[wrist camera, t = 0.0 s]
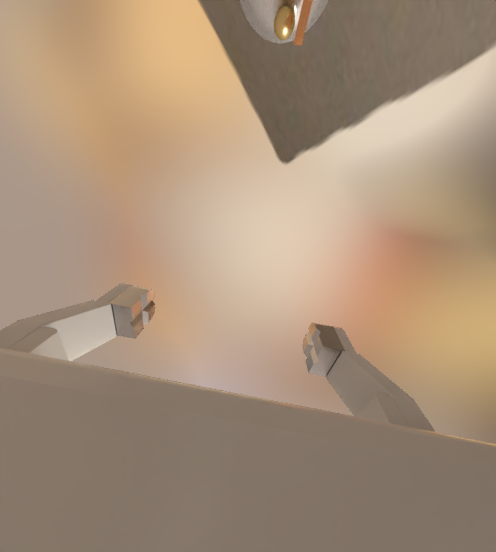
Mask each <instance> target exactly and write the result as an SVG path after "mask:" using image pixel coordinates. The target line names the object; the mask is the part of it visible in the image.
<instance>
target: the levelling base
mask: <svg viewBox="0 0 496 552" xmlns="http://www.w3.org/2000/svg"><path fill="white" fill-rule="evenodd" d="M239 1H240V4H241V7H242V9H243V12H244V14H245V16H246V18H247V20H248V21H249V23H250V25H251V26H252V27H253V29H254V30H255V31H256V32H257V33H258V34H259V35H260V36H261V37H263V38H264V39H266V40H268V41H271V42H274V43H286V42H290V41H292V40H294V38H295V34H296V29H297V25H298V20H299V16H300V12H301V7H302V3H303V0H239ZM328 1H329V0H313V2H312V6H311V10H310V14H309V18H308V22H307V26H306V30H305V32H306V31H307V30H308V29H309V28H310V27H311V26H312V25H313V24H314V23H315V22H316V20H317V19H318V18H319V16H320V15H321V13H322V12H323V10H324V8H325V7H326V5H327V3H328Z"/></svg>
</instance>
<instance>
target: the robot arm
mask: <svg viewBox="0 0 496 552" xmlns="http://www.w3.org/2000/svg"><path fill="white" fill-rule="evenodd" d="M154 297H155V295H154V291H153V290H151V289H147V288H143V287H138V286H133V285H129V284H124V283H122V284H119V285H118V286H116V287H115V288H113V289H112V290H110V291H109V292H108V293H106V294H105V295H103V296H102V297H101V298H99V299H98V300H96V301H94V300H91V301H88V302H84V303H80V304H77V305H73V306H69V307H66V308H62V309H58V310H55V311H51V312H47V313H43V314H40V315H36V316H33V317H29V318H25V319H21V320H18V321H16V322H15V323H13V324H11V325H9V326H8V327H6V328H4V329H2V330H1V331H0V552H496V444H493V443H488V442H483V441H477V440H472V439H467V438H462V437H457V436H452V435H447V434H441V433H437V432H435V430H434V429H433V428H432V426H431V424H430V423H429V421H428V420H427V418H426V417H425V416H424V414H423V413H422V411H421V410H420V408H419V407H418V405H417V404H416V402H415V401H414V400H413V398H411V397H410V396H409V395H408V394H407V393H405V392H404V391H403V390H402V389H400V388H399V387H398V386H397V385H396V384H395V383H393V382H392V381H391V380H390V379H389V378H387V377H386V376H385V375H384V374H382V373H381V372H380V371H379V370H378V369H377V368H376V367H374V366H373V365H372V364H371V363H369V362H368V361H367V360H366V359H365V358H364V357H362V356H361V355H360V354H357V353H356V352H355V350H354V348H353V346H352V344H351V342H350V341H349V339H348V337H347V335H346V333H345V331H344V330H343V329H342V328H339V327H333V326H326V325H321V324H316V323H312V324H311V325H310V327H309V331H310V333H308V334H306V335H305V338H304V341H303V351H304V354H305V355H306V356H307V359H306V364H307V368H308V372H309V373H310V374H315V375H319V376H323V377H326V379H327V380H328V381H329V383H330V384H331V385H332V387H333V388H334V390H335V391H336V392H337V394H338V395H339V396H340V398H341V399H342V400H343V401H344V403H345V404H346V406H347V407H348V408H349V409H350V411H351V412H352V414H353V415H354V416H349V415H344V414H339V413H334V412H329V411H324V410H319V409H314V408H309V407H303V406H298V405H293V404H288V403H283V402H278V401H273V400H268V399H262V398H257V397H252V396H247V395H242V394H237V393H231V392H227V391H222V390H216V389H211V388H206V387H200V386H196V385H191V384H186V383H181V382H176V381H170V380H165V379H160V378H155V377H150V376H145V375H140V374H135V373H129V372H124V371H119V370H114V369H109V368H104V367H99V366H94V365H88V364H83V363H78V362H73V361H72V360H74V359H76V358H78V357H79V356H81V355H83V354H85V353H87V352H89V351H91V350H92V349H94V348H96V347H98V346H100V345H102V344H103V343H105V342H107V341H109V340H111V339H113V338H115V337H117V336H123V337H129V338H136V337H137V336H138V335H139V333H140V332H141V331H142V330H143V329H144V328H143V324H145V323H147V322H149V321H150V320H151V319H152V317H153V314H154V311H155V303H154V302H153V301H152V299H153V298H154Z"/></svg>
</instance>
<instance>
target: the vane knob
mask: <svg viewBox="0 0 496 552" xmlns="http://www.w3.org/2000/svg"><path fill="white" fill-rule="evenodd" d="M312 2H313V0H303V3H302V7H301V12H300V16H299V20H298V25H297V29H296V34H295V38H294V44H296V45H300V46H302V42H303V38H304V34H305V30H306V26H307V22H308V18H309V14H310V10H311V6H312Z"/></svg>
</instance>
